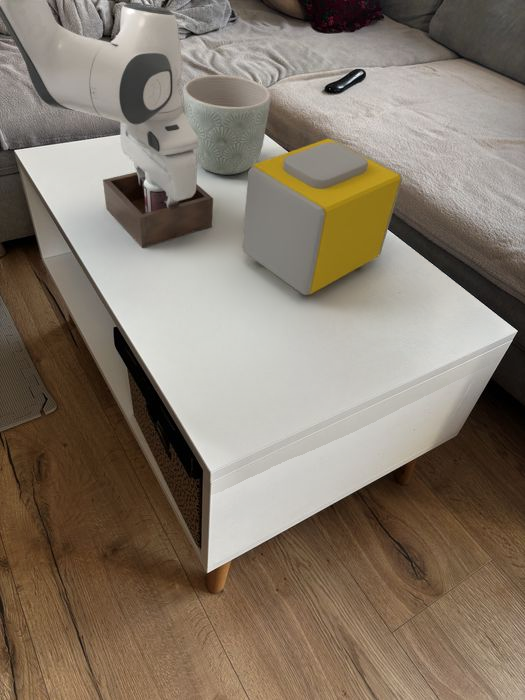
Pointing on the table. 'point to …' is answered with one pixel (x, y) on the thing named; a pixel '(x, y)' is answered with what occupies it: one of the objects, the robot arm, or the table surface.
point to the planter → (227, 121)
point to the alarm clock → (318, 213)
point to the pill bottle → (153, 195)
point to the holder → (155, 212)
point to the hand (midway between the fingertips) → (157, 198)
